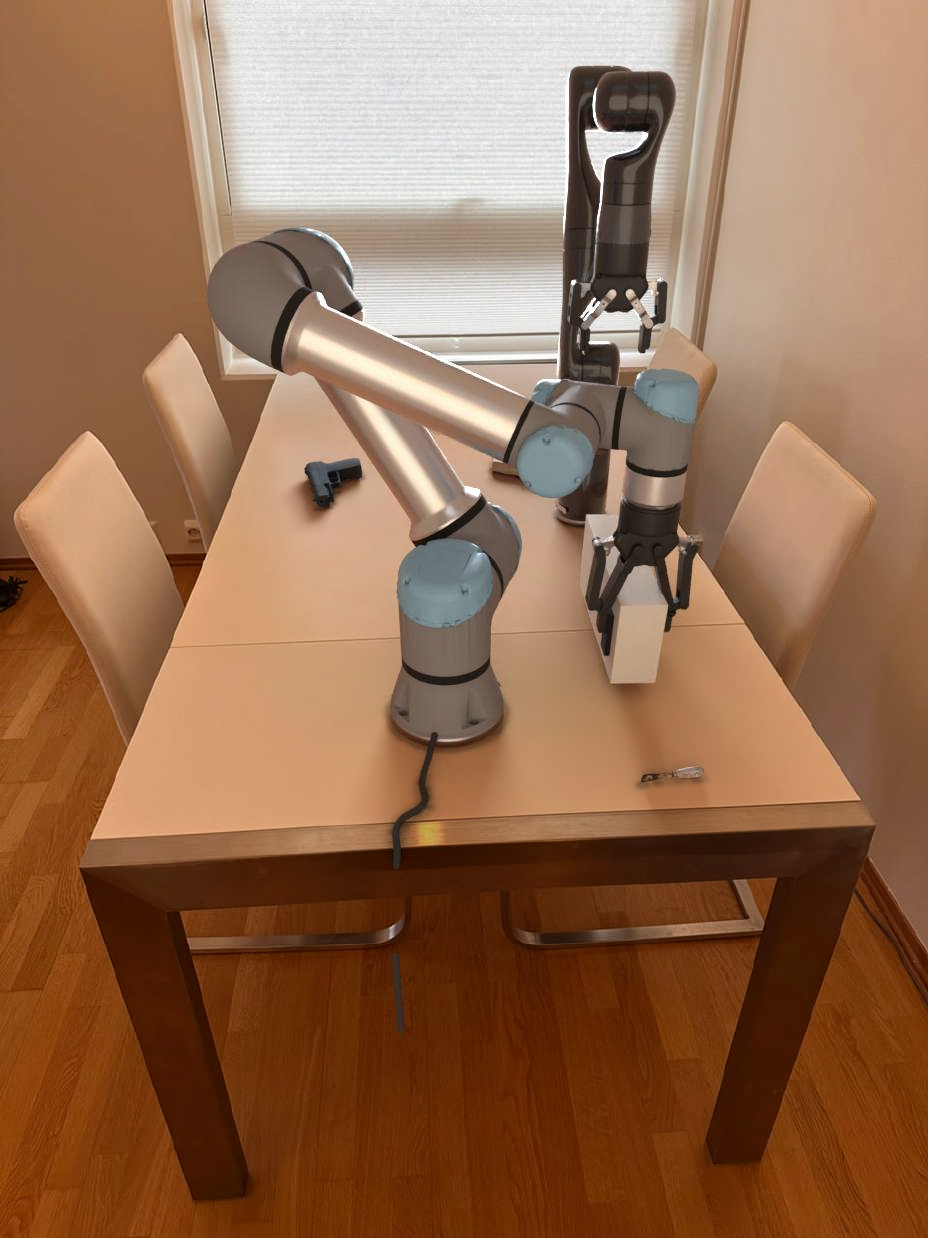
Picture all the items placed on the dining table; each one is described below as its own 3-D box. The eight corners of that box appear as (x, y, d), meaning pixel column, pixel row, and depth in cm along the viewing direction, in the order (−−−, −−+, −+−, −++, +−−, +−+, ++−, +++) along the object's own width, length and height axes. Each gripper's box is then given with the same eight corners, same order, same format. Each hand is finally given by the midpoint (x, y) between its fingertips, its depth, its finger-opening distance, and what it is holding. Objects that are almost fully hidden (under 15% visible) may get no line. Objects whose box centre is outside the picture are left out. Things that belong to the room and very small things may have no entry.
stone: (554, 462, 195) (554, 451, 194) (536, 482, 186) (537, 471, 185) (499, 454, 200) (499, 444, 198) (479, 474, 190) (479, 463, 189)
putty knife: (703, 777, 109) (705, 767, 109) (642, 788, 108) (644, 777, 107) (700, 772, 110) (702, 762, 109) (639, 782, 109) (640, 771, 108)
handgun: (373, 502, 179) (314, 510, 176) (359, 469, 193) (303, 475, 190) (373, 488, 177) (312, 495, 174) (358, 455, 191) (301, 461, 188)
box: (655, 683, 122) (668, 605, 116) (610, 683, 122) (620, 605, 115) (617, 583, 145) (625, 514, 138) (579, 584, 145) (586, 514, 138)
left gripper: (718, 484, 115) (690, 634, 127) (570, 485, 114) (557, 636, 126) (736, 510, 109) (705, 664, 121) (580, 510, 108) (564, 666, 120)
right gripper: (666, 232, 129) (654, 345, 138) (568, 233, 129) (562, 346, 137) (679, 240, 123) (666, 359, 131) (576, 242, 122) (570, 360, 131)
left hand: (629, 649), depth 124 cm, fingers closed on box, 6 cm apart
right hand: (613, 352), depth 134 cm, fingers open, 8 cm apart
